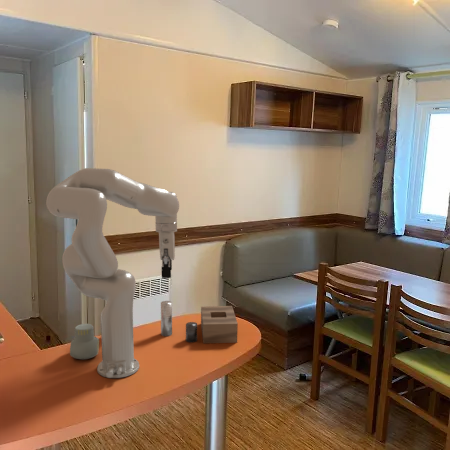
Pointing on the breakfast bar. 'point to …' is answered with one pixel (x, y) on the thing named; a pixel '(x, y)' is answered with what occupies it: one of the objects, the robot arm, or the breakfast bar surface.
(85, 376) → the breakfast bar surface
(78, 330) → the air freshener
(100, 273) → the robot arm
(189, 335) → the short black pin
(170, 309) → the tall steel pin
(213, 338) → the walnut block
